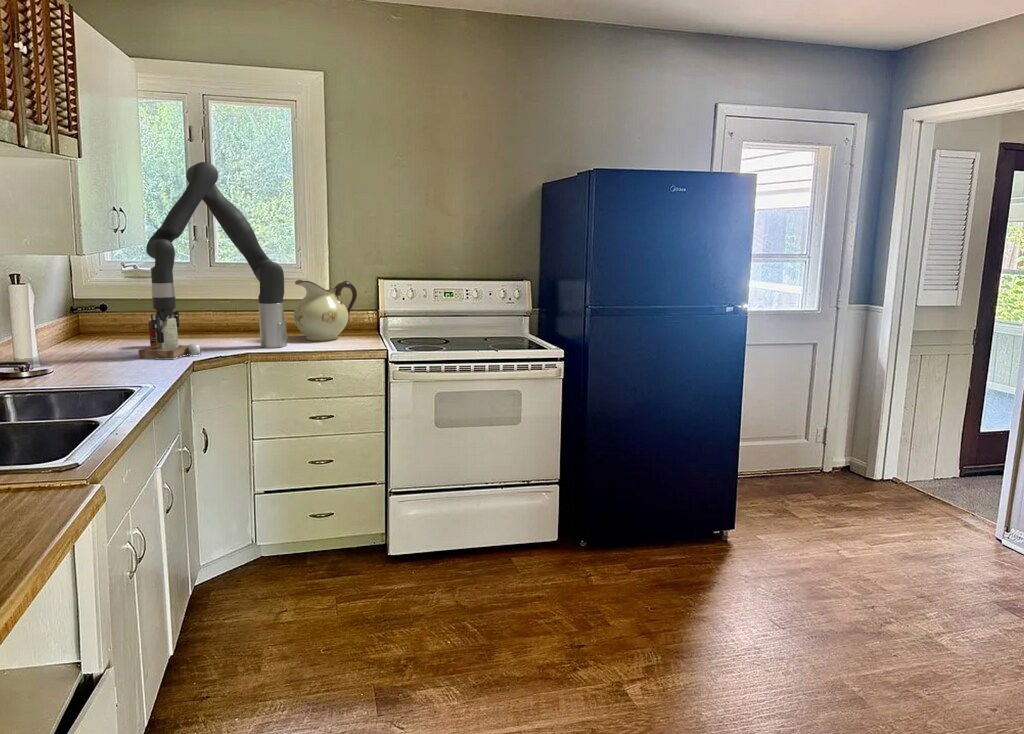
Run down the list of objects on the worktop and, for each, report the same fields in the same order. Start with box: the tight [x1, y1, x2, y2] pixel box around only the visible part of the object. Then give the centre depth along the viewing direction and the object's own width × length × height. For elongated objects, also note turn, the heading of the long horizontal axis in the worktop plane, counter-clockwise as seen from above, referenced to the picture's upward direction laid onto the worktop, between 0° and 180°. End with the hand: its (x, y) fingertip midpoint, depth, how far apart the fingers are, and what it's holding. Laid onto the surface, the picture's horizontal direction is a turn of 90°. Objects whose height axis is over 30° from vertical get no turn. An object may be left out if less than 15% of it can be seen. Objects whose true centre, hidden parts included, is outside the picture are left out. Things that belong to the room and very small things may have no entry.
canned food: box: [148, 318, 157, 347], centre depth 292 cm, size 8×8×11 cm
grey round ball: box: [188, 343, 201, 356], centre depth 272 cm, size 4×4×4 cm
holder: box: [138, 344, 190, 359], centre depth 271 cm, size 13×14×3 cm
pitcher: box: [293, 279, 358, 342], centre depth 317 cm, size 22×24×25 cm
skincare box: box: [155, 318, 180, 350], centre depth 270 cm, size 6×4×12 cm
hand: (167, 341), depth 270 cm, fingers closed on skincare box, 7 cm apart
